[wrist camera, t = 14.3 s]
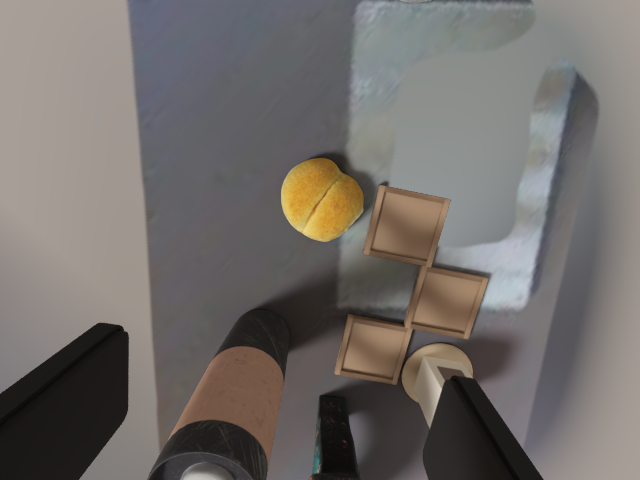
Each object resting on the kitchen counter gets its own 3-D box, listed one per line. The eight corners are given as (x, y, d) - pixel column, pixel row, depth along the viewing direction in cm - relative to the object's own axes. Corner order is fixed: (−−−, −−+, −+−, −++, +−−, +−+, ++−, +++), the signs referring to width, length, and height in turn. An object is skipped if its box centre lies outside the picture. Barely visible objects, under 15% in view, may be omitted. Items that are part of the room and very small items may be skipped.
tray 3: (347, 313, 39) (348, 316, 38) (410, 325, 39) (412, 329, 38) (334, 370, 40) (334, 374, 40) (394, 380, 41) (396, 385, 40)
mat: (411, 337, 39) (412, 338, 39) (480, 350, 40) (482, 351, 39) (393, 397, 41) (394, 400, 41) (459, 409, 42) (460, 411, 41)
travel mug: (263, 295, 38) (203, 428, 19) (304, 338, 39) (287, 506, 20) (218, 331, 39) (116, 492, 20) (259, 372, 41) (201, 562, 21)
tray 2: (420, 263, 37) (422, 265, 36) (485, 276, 37) (488, 278, 37) (403, 324, 39) (404, 327, 38) (465, 335, 39) (468, 339, 38)
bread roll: (311, 144, 34) (310, 141, 31) (373, 196, 36) (379, 199, 32) (266, 203, 36) (259, 207, 32) (327, 251, 37) (327, 260, 33)
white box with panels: (423, 354, 39) (445, 394, 33) (462, 361, 40) (491, 402, 33) (413, 389, 41) (432, 435, 34) (450, 395, 41) (477, 442, 34)
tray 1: (379, 184, 35) (380, 185, 34) (448, 198, 35) (450, 199, 35) (362, 252, 37) (363, 254, 36) (428, 265, 37) (430, 267, 36)
